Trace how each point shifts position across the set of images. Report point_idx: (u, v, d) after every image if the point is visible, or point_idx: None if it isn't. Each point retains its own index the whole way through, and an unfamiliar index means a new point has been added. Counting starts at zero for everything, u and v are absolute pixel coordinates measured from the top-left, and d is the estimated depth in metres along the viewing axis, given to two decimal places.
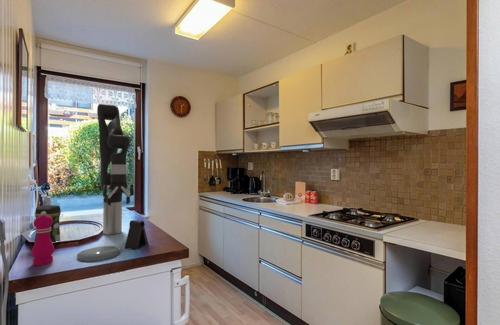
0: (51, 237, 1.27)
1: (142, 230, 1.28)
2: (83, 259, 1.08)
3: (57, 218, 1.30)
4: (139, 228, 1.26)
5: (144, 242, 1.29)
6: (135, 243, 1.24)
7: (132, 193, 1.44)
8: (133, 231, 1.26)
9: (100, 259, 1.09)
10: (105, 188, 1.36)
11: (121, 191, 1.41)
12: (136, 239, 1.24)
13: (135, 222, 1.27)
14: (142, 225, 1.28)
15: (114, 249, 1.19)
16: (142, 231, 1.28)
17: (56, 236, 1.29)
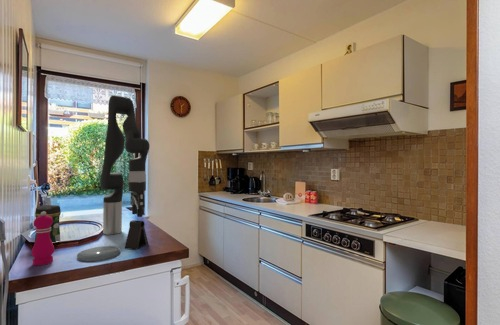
0: (51, 237, 1.27)
1: (142, 230, 1.28)
2: (83, 259, 1.08)
3: (57, 218, 1.30)
4: (139, 228, 1.26)
5: (144, 242, 1.29)
6: (135, 243, 1.24)
7: None
8: (133, 231, 1.26)
9: (100, 259, 1.09)
10: None
11: None
12: (136, 239, 1.24)
13: (135, 222, 1.27)
14: (142, 225, 1.28)
15: (114, 249, 1.19)
16: (142, 231, 1.28)
17: (56, 236, 1.29)
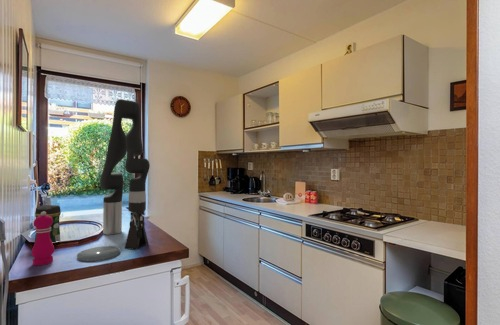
0: (51, 237, 1.27)
1: (142, 230, 1.28)
2: (83, 259, 1.08)
3: (57, 218, 1.30)
4: None
5: (144, 242, 1.29)
6: (135, 243, 1.24)
7: None
8: (133, 231, 1.26)
9: (100, 259, 1.09)
10: None
11: None
12: (136, 239, 1.24)
13: None
14: None
15: (114, 249, 1.19)
16: (142, 231, 1.28)
17: (56, 236, 1.29)
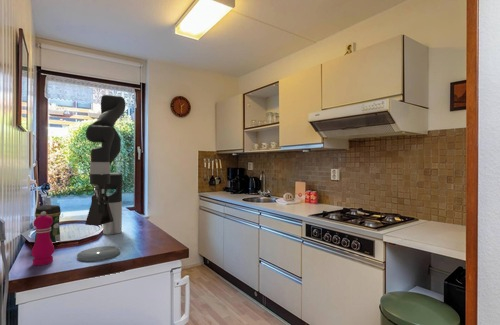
0: (51, 237, 1.27)
1: (106, 205, 1.16)
2: (83, 259, 1.08)
3: (57, 218, 1.30)
4: None
5: (108, 219, 1.17)
6: (97, 219, 1.12)
7: None
8: (95, 206, 1.14)
9: (100, 259, 1.09)
10: None
11: None
12: (98, 214, 1.12)
13: None
14: (106, 200, 1.16)
15: (114, 249, 1.19)
16: (106, 206, 1.16)
17: (56, 236, 1.29)
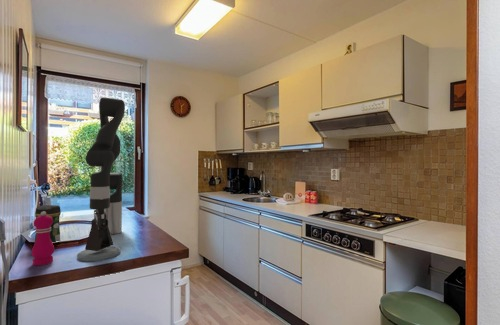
0: (51, 237, 1.27)
1: (106, 229, 1.16)
2: (83, 259, 1.08)
3: (57, 218, 1.30)
4: None
5: (108, 243, 1.17)
6: (96, 244, 1.11)
7: None
8: (95, 230, 1.14)
9: (100, 259, 1.09)
10: (105, 217, 1.11)
11: None
12: (98, 239, 1.12)
13: None
14: (106, 224, 1.16)
15: (114, 249, 1.19)
16: (106, 230, 1.16)
17: (56, 236, 1.29)
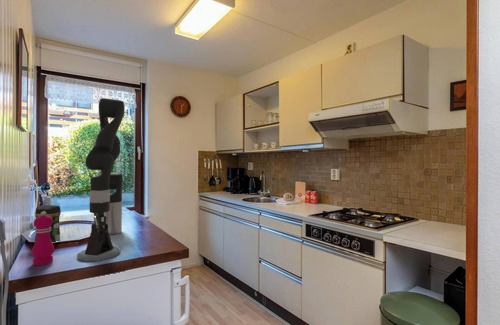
0: (51, 237, 1.27)
1: (105, 234, 1.16)
2: (83, 259, 1.08)
3: (57, 218, 1.30)
4: None
5: (108, 247, 1.17)
6: (96, 248, 1.12)
7: None
8: (95, 235, 1.14)
9: (100, 259, 1.09)
10: (105, 220, 1.11)
11: None
12: (98, 244, 1.12)
13: None
14: None
15: (114, 249, 1.19)
16: (105, 235, 1.16)
17: (56, 236, 1.29)
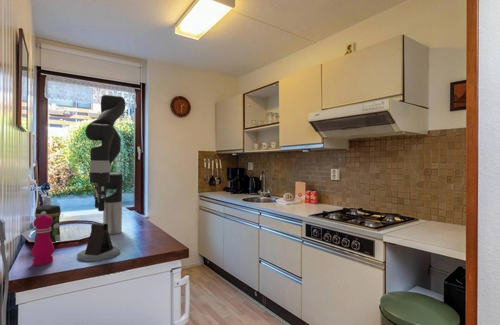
0: (51, 237, 1.27)
1: (105, 234, 1.16)
2: (83, 259, 1.08)
3: (57, 218, 1.30)
4: (101, 231, 1.14)
5: (108, 247, 1.17)
6: (96, 248, 1.12)
7: None
8: (95, 235, 1.14)
9: (100, 259, 1.09)
10: (105, 190, 1.11)
11: None
12: (98, 244, 1.12)
13: (97, 225, 1.15)
14: (105, 228, 1.16)
15: (114, 249, 1.19)
16: (105, 235, 1.16)
17: (56, 236, 1.29)
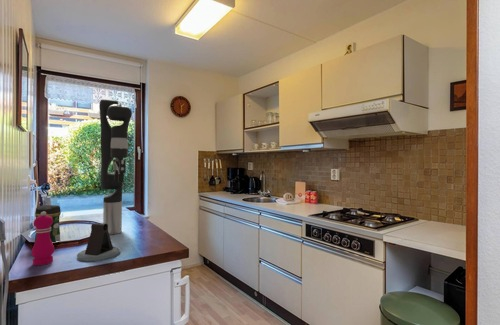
0: (51, 237, 1.27)
1: (105, 234, 1.16)
2: (83, 259, 1.08)
3: (57, 218, 1.30)
4: (101, 231, 1.14)
5: (108, 247, 1.17)
6: (96, 248, 1.12)
7: None
8: (95, 235, 1.14)
9: (100, 259, 1.09)
10: None
11: None
12: (98, 244, 1.12)
13: (97, 225, 1.15)
14: (105, 228, 1.16)
15: (114, 249, 1.19)
16: (105, 235, 1.16)
17: (56, 236, 1.29)
